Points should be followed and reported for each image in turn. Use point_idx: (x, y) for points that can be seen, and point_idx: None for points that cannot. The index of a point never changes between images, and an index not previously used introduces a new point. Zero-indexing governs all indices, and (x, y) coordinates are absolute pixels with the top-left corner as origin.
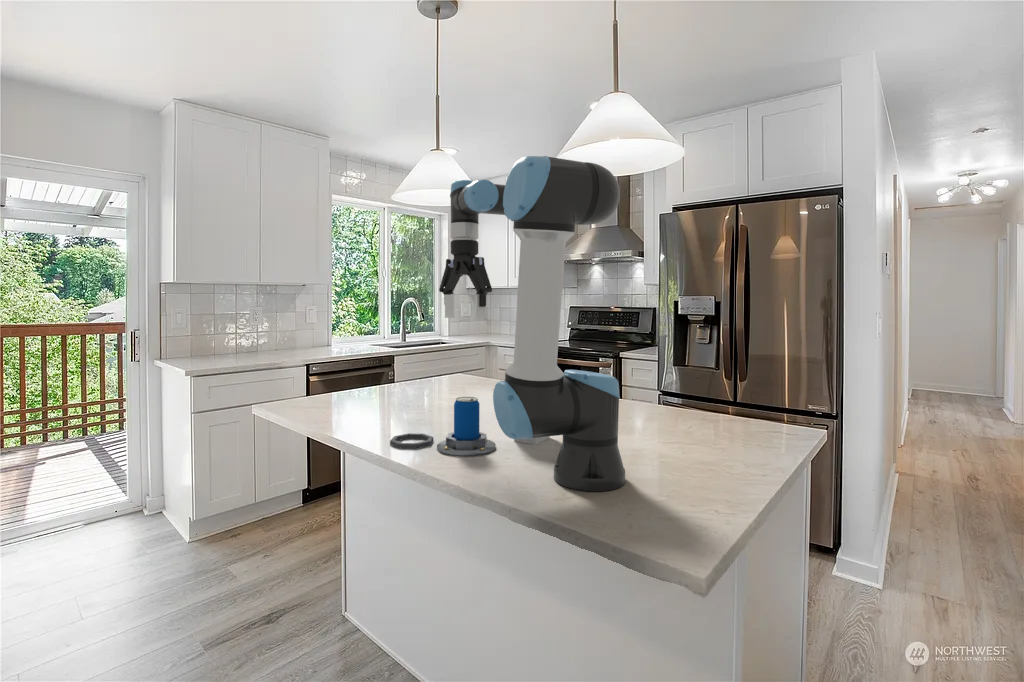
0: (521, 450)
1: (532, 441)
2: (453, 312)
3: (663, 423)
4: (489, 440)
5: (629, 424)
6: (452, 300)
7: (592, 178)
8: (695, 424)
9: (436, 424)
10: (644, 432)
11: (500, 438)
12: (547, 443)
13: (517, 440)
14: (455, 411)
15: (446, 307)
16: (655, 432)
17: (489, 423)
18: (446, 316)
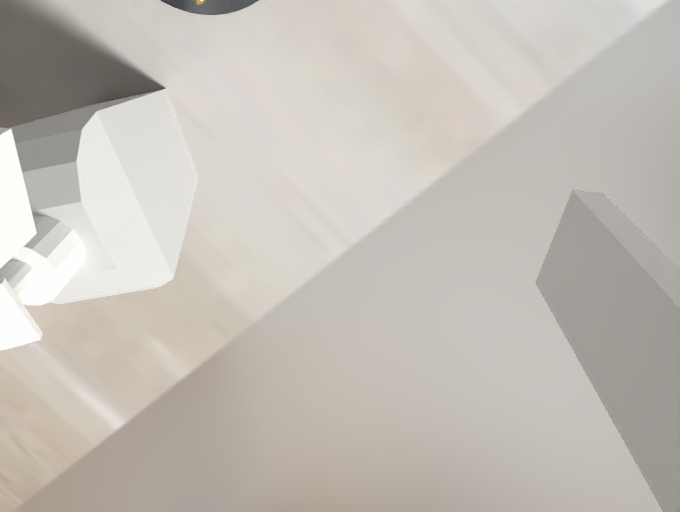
0: (66, 19)
1: (102, 102)
2: (558, 309)
3: (77, 442)
4: (191, 8)
5: (115, 400)
6: (635, 414)
7: None
8: (32, 467)
9: (517, 70)
10: (37, 366)
11: (220, 83)
12: None
13: (153, 91)
14: None
15: (630, 254)
16: (24, 378)
17: (380, 198)
18: (577, 195)
